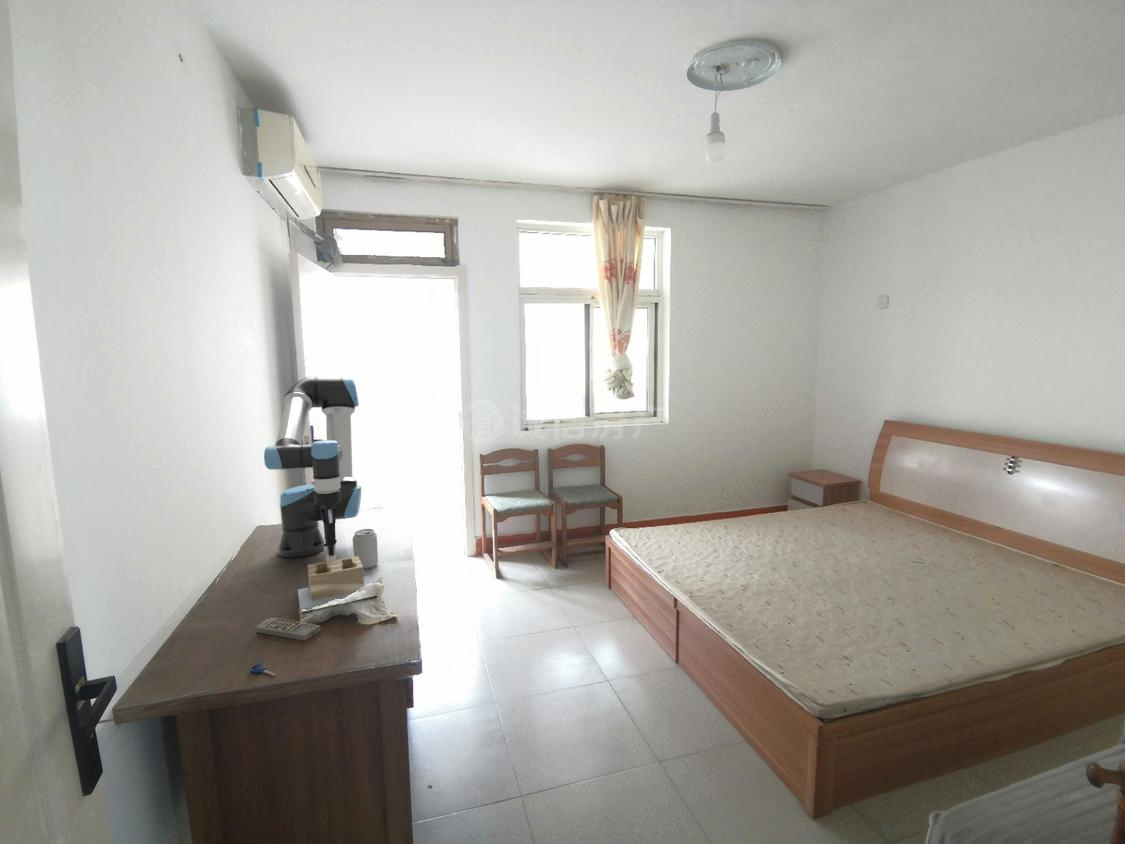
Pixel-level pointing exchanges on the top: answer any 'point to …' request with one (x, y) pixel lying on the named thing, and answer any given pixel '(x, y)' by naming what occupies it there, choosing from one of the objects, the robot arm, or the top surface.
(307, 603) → the panel
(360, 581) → the wooden cubby shelf
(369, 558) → the can
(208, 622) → the top surface
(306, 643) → the top surface
